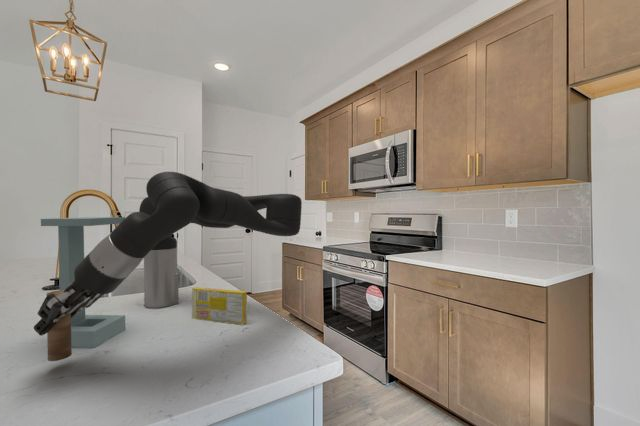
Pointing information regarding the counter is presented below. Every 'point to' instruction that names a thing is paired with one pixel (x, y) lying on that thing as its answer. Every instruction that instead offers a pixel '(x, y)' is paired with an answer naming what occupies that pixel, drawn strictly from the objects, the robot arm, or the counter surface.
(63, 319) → the peg
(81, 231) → the socket stand
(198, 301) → the candy box
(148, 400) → the counter surface
